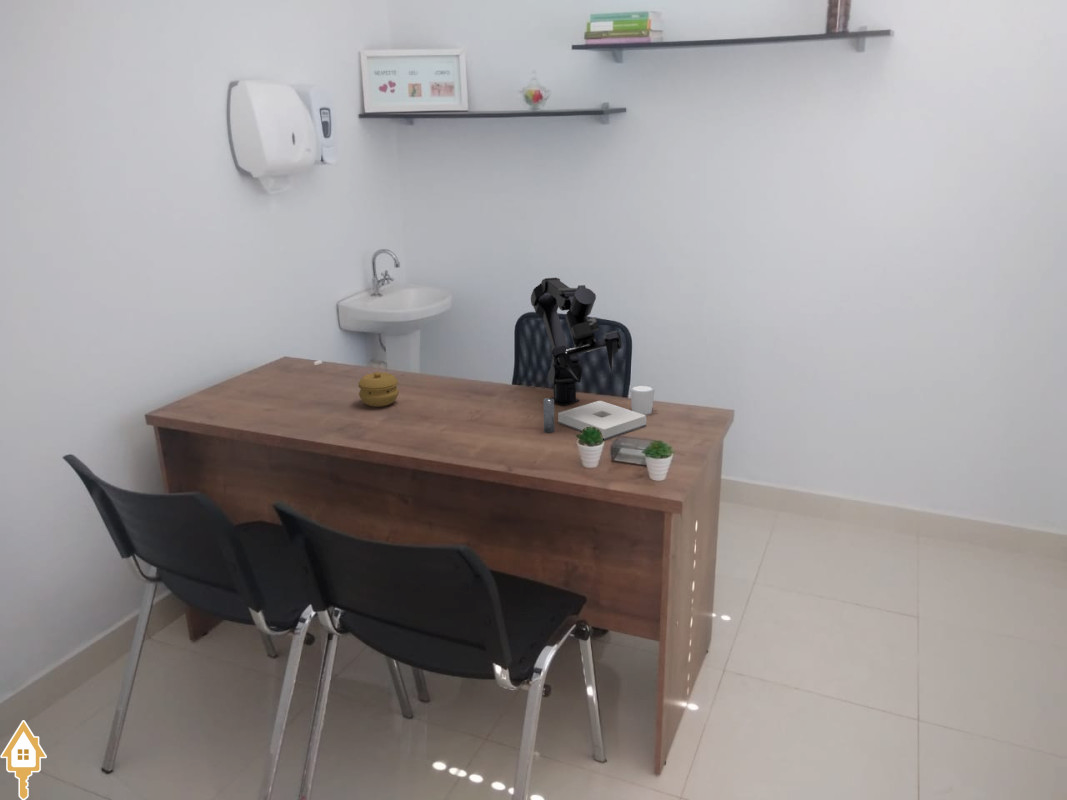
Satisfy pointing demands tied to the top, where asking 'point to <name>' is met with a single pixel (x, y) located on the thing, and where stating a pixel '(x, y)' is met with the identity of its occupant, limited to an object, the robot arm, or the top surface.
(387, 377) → the pot
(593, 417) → the bore board
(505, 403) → the top surface
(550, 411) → the steel pin
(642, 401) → the white cup
